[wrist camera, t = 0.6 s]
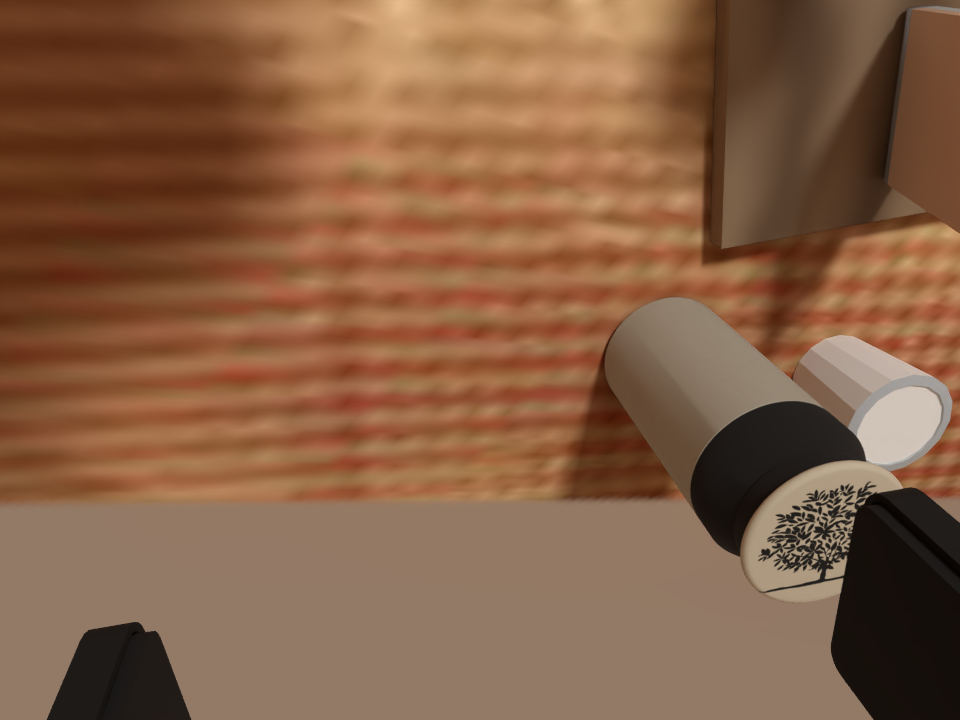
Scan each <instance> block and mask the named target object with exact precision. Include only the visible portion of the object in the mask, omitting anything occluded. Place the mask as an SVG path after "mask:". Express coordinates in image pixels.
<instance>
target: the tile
mask: <svg viewBox="0 0 960 720" xmlns="http://www.w3.org/2000/svg"><path fill="white" fill-rule="evenodd" d="M883 182H884V183H887V185H889V186H890V187H892V188H893V189H895V190H896V191H898V192H899V193H900V194H902V195H903V196H905V197H906V198H908V199H909V200H911V201H912V202H914V203H915V204H917V205H918V206H920V207H921V208H923V209H924V210H926V211H927V212H929V213H930V214H932V215H933V216H935V217H936V218H938V219H939V220H941V221H942V222H943V223H945V224H946V225H948V226H949V227H951V228H952V229H954V230H955V231H957V232H958V233H960V9H957V8H949V7H941V6H935V7H934V6H931V5H929V6H915V7H909V8H907V12H906V19H905V26H904V34H903V41H902V48H901V55H900V63H899V70H898V77H897V85H896V92H895V99H894V106H893V114H892V121H891V128H890V135H889V143H888V150H887V157H886V165H885V172H884V179H883Z"/></svg>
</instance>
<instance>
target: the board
mask: <svg viewBox="0 0 960 720" xmlns="http://www.w3.org/2000/svg"><path fill="white" fill-rule="evenodd" d="M929 5H931V6H934V7H935V6H941V7H949V8H957V9H960V0H717V7H716V43H715V80H714V116H713V153H712V189H711V226H710V241H711V242H712V243H713V244H715V245H716V246H718V247H719V248H721V249H724V248H730V247H735V246H741V245H747V244H752V243H758V242H763V241H769V240H774V239H780V238H786V237H791V236H797V235H802V234H808V233H813V232H819V231H825V230H830V229H836V228H841V227H847V226H852V225H858V224H864V223H869V222H875V221H880V220H886V219H891V218H897V217H903V216H908V215H914V214H919V213H925V212H927V211H926V210H924V209H923V208H921V207H920V206H918V205H917V204H915V203H914V202H912V201H911V200H909V199H908V198H906V197H905V196H903V195H902V194H900V193H899V192H898V191H896V190H895V189H893V188H892V187H890V186H889V185H887V183H884V182H883V179H884V172H885V165H886V157H887V150H888V143H889V135H890V128H891V121H892V114H893V106H894V99H895V92H896V85H897V77H898V70H899V63H900V55H901V48H902V41H903V34H904V26H905V19H906V12H907V8H909V7H915V6H929Z"/></svg>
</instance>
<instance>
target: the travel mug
mask: <svg viewBox="0 0 960 720" xmlns="http://www.w3.org/2000/svg"><path fill="white" fill-rule="evenodd" d="M605 375H606V379H607V382H608V384H609V386H610V388H611V390H612V391H613V393H614V394H615V396H616V397H617V398H618V400H619V401H620V403H621V404H622V406H623V407H624V409H625V410H626V412H627V413H628V415H629V416H630V418H631V419H632V421H633V422H634V423H635V425H636V426H637V428H638V429H639V431H640V432H641V434H642V435H643V437H644V438H645V440H646V441H647V443H648V444H649V446H650V447H651V448H652V450H653V451H654V453H655V454H656V456H657V457H658V459H659V460H660V462H661V463H662V465H663V466H664V468H665V469H666V471H667V472H668V473H669V475H670V476H671V478H672V479H673V481H674V482H675V484H676V485H677V487H678V488H679V490H680V491H681V493H682V494H683V496H684V497H685V498H686V500H687V501H688V503H689V504H690V506H691V507H692V509H693V510H694V512H695V513H696V515H697V516H698V518H699V519H700V520H701V522H702V523H703V525H704V526H705V528H706V529H707V531H708V532H709V534H710V535H711V537H712V538H713V539H714V541H715V542H716V543H717V544H718V545H719V546H721V547H722V548H723V549H725V550H726V551H728V552H730V553H732V554H734V555H737V556H739V557H740V558H741V565H742V569H743V572H744V574H745V576H746V578H747V580H748V581H749V583H750V584H751V585H752V586H753V587H754V588H755V589H756V590H757V591H759V592H760V593H761V594H763V595H765V596H767V597H769V598H772V599H774V600H778V601H783V602H790V603H804V602H811V601H817V600H821V599H825V598H828V597H831V596H834V595H836V594H839V593H841V588H842V583H843V577H844V572H845V567H846V561H847V556H848V550H849V545H850V540H851V534H852V529H853V524H854V518H855V514H856V511H857V510H858V509H859V508H860V507H863V506H864V503H865V500H866V498H867V497H868V496H869V495H872V494H875V493H881V492H887V491H892V490H898V489H903V487H902V486H901V484H900V482H899V481H898V480H897V479H896V477H895V476H894V475H893V474H891V473H890V472H889V471H887V470H886V469H884V468H882V467H880V466H878V465H875V464H873V463H869V462H867V461H866V456H865V452H864V449H863V447H862V444H861V442H860V441H859V439H858V438H857V437H856V435H855V434H854V433H853V432H852V431H851V430H849V429H848V428H847V427H846V426H845V425H844V424H842V423H841V422H840V421H839V420H838V419H837V418H835V417H834V416H833V415H832V414H831V413H830V412H829V411H827V410H826V409H825V408H824V407H823V406H822V405H820V404H819V403H818V402H817V401H816V400H815V399H813V398H812V397H811V396H810V395H809V394H808V393H806V392H805V391H804V390H803V389H802V388H801V387H800V386H798V385H797V384H796V383H795V382H794V381H793V380H791V379H790V378H789V377H788V376H787V375H786V374H784V373H783V372H782V371H781V370H780V369H779V368H777V367H776V366H775V365H774V364H773V363H772V362H771V361H769V360H768V359H767V358H766V357H765V356H764V355H762V354H761V353H760V352H759V351H758V350H757V349H755V348H754V347H753V346H752V345H751V344H750V343H748V342H747V341H746V340H745V339H744V338H743V337H742V336H740V335H739V334H738V333H737V332H736V331H735V330H733V329H732V328H731V327H730V326H729V325H728V324H726V323H725V322H724V321H723V320H722V319H721V318H719V317H718V316H717V315H716V314H715V313H714V312H713V311H711V310H710V309H709V308H708V307H706V306H705V305H704V304H702V303H700V302H698V301H695V300H692V299H688V298H680V297H673V298H664V299H660V300H657V301H654V302H651V303H649V304H646V305H644V306H643V307H641V308H639V309H638V310H636V311H635V312H633V313H632V314H631V315H629V316H628V317H627V318H626V319H625V320H624V321H623V322H622V323H621V325H620V326H619V327H618V328H617V330H616V331H615V333H614V334H613V336H612V338H611V340H610V342H609V345H608V347H607V351H606V355H605Z"/></svg>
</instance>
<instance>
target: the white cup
mask: <svg viewBox="0 0 960 720" xmlns="http://www.w3.org/2000/svg"><path fill="white" fill-rule="evenodd" d="M793 381H794V382H795V383H796V384H797V385H798V386H800V387H801V388H802V389H803V390H804V391H805V392H806V393H808V394H809V395H810V396H811V397H812V398H813V399H815V400H816V401H817V402H818V403H819V404H820V405H822V406H823V407H824V408H825V409H826V410H827V411H829V412H830V413H831V414H832V415H833V416H834V417H835V418H837V419H838V420H839V421H840V422H841V423H842V424H844V425H845V426H846V427H847V428H848V429H849V430H851V431H852V432H853V433H854V434H855V435H856V437H857V438H858V439H859V441H860V442H861V444H862V447H863V449H864V452H865V456H866V461H867V462H869V463H873V464H875V465H878V466H880V467H882V468H884V469H886V470H887V471H892V470H896V469H899V468H903V467H906V466H907V465H909V464H911V463H912V462H914V461H916V460H917V459H919V458H920V457H922V456H924V455H925V454H926V453H927V452H928V451H929V450H930V449H931V448H932V447H933V446H934V445H935V444H936V443H937V441H938V440H939V439H940V438H941V436H942V434H943V432H944V430H945V429H946V427H947V425H948V423H949V421H950V416H951V408H952V399H951V397H950V394H949V391H948V389H947V386H945V385H944V384H942V383H941V382H940V381H938V380H937V379H936V378H934V377H933V376H931V375H929V374H927V373H925V372H923V371H921V370H919V369H917V368H915V367H913V366H911V365H909V364H907V363H905V362H903V361H901V360H899V359H897V358H895V357H893V356H891V355H889V354H887V353H885V352H883V351H881V350H879V349H877V348H875V347H873V346H871V345H869V344H868V343H866V342H864V341H862V340H860V339H858V338H856V337H852V336H844V335H838V336H835V337H831V338H827V339H824V340H823V341H821V342H819V343H818V344H816V345H815V346H813V347H812V348H810V349H809V350H808V352H807V353H806V354H805V355H804V356H803V357H802V358H801V360H800V361H799V363H798V365H797V367H796V370H795V372H794V375H793Z"/></svg>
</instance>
